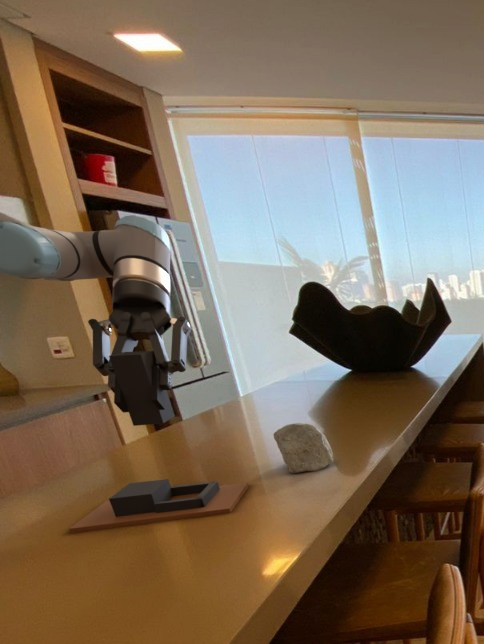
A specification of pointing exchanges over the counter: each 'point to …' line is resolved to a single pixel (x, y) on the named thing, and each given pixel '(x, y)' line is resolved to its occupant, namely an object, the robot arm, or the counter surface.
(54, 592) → the counter surface
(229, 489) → the dock mat
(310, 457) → the decorative stone
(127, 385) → the tall black block
